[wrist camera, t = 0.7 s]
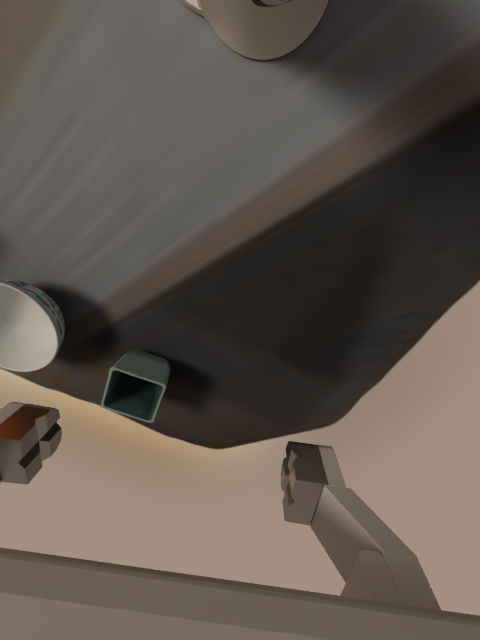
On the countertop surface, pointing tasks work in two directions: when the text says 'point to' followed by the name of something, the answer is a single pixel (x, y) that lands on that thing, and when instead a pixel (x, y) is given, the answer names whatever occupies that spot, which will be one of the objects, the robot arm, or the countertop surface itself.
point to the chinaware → (28, 327)
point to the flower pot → (136, 385)
